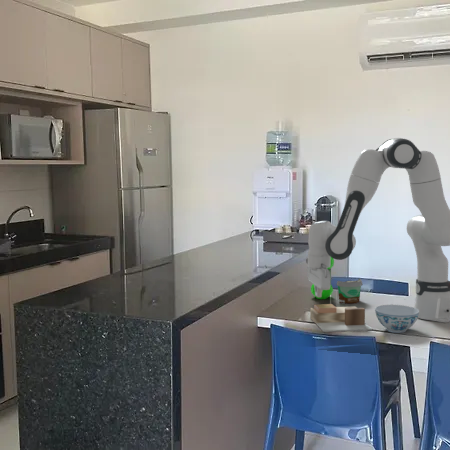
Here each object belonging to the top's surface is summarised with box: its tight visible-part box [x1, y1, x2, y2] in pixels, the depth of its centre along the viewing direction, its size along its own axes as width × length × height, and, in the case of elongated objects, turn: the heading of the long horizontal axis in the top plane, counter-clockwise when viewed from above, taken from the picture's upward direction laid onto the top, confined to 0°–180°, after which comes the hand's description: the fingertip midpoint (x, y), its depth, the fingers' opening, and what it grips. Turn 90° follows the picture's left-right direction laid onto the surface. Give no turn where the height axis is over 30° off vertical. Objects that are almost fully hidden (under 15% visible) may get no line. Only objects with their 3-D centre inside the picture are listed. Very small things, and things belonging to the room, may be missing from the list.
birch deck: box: [309, 305, 358, 324], centre depth 210 cm, size 18×9×4 cm, turn 96°
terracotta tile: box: [313, 303, 337, 313], centre depth 209 cm, size 7×6×2 cm
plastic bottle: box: [310, 257, 335, 300], centre depth 247 cm, size 10×10×25 cm
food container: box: [336, 278, 363, 305], centre depth 236 cm, size 12×6×10 cm, turn 114°
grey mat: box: [315, 322, 374, 333], centre depth 200 cm, size 18×10×1 cm, turn 96°
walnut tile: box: [345, 307, 366, 326], centre depth 202 cm, size 7×6×2 cm
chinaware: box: [374, 304, 419, 334], centre depth 195 cm, size 15×15×8 cm
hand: (318, 296), depth 216 cm, fingers closed
